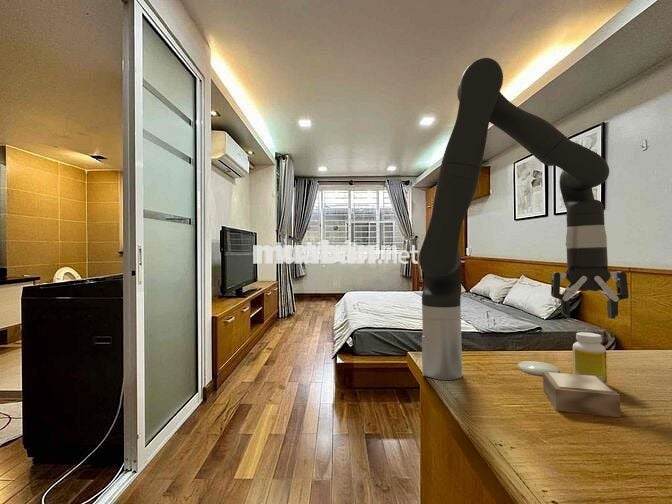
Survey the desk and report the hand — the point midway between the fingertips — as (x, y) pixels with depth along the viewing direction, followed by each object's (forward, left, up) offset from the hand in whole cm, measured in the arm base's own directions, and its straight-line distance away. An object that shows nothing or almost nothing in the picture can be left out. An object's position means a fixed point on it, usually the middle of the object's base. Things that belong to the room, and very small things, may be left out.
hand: (589, 317), depth 79 cm
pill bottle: (0, 0, -15) cm, 15 cm away
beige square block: (-6, -13, -15) cm, 21 cm away
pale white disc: (-9, +7, -15) cm, 19 cm away
